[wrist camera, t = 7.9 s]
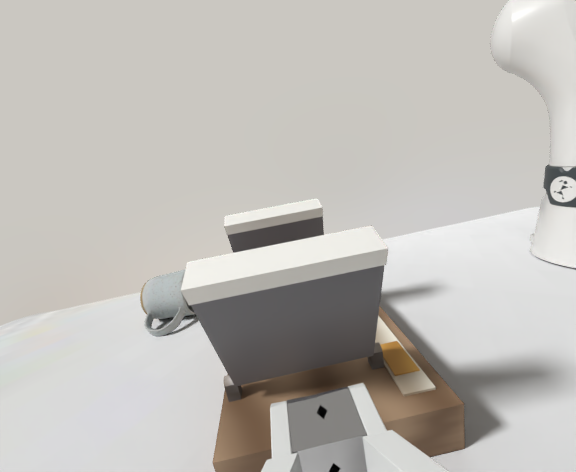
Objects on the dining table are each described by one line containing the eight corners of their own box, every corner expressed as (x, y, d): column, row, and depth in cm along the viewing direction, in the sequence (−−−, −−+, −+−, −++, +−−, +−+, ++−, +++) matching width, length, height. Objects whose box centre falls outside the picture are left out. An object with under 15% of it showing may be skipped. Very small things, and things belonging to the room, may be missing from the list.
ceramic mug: (166, 305, 51) (153, 269, 49) (208, 299, 50) (196, 261, 48) (134, 342, 40) (116, 298, 38) (186, 335, 40) (170, 289, 38)
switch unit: (349, 289, 44) (344, 255, 42) (464, 448, 19) (463, 380, 17) (247, 310, 43) (239, 277, 42) (227, 506, 18) (205, 439, 17)
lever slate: (322, 267, 38) (317, 198, 31) (326, 277, 36) (322, 207, 30) (246, 282, 37) (224, 216, 31) (246, 294, 36) (224, 226, 29)
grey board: (363, 333, 22) (371, 225, 16) (374, 358, 21) (388, 248, 14) (235, 361, 22) (187, 262, 15) (235, 389, 20) (180, 290, 14)
